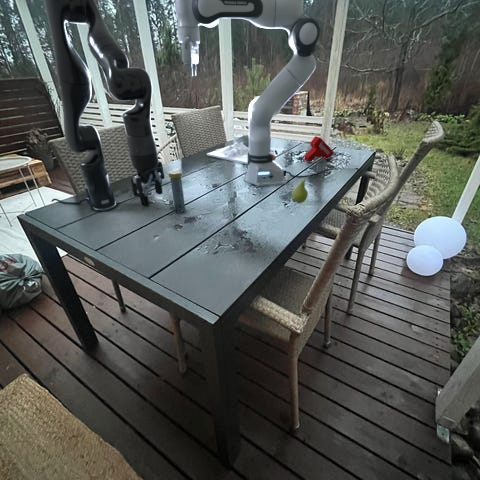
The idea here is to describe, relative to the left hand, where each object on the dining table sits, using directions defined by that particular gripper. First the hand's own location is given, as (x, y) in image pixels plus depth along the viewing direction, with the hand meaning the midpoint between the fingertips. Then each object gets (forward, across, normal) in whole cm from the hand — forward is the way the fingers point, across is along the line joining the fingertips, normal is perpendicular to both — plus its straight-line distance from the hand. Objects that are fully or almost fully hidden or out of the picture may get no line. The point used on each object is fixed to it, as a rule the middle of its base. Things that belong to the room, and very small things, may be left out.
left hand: (152, 199), depth 88 cm
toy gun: (+21, -109, +52) cm, 122 cm away
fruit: (+16, -43, +46) cm, 65 cm away
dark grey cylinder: (+17, -21, -2) cm, 27 cm away
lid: (0, -22, -3) cm, 22 cm away
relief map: (+23, -109, -1) cm, 112 cm away
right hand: (-28, -61, -10) cm, 68 cm away
